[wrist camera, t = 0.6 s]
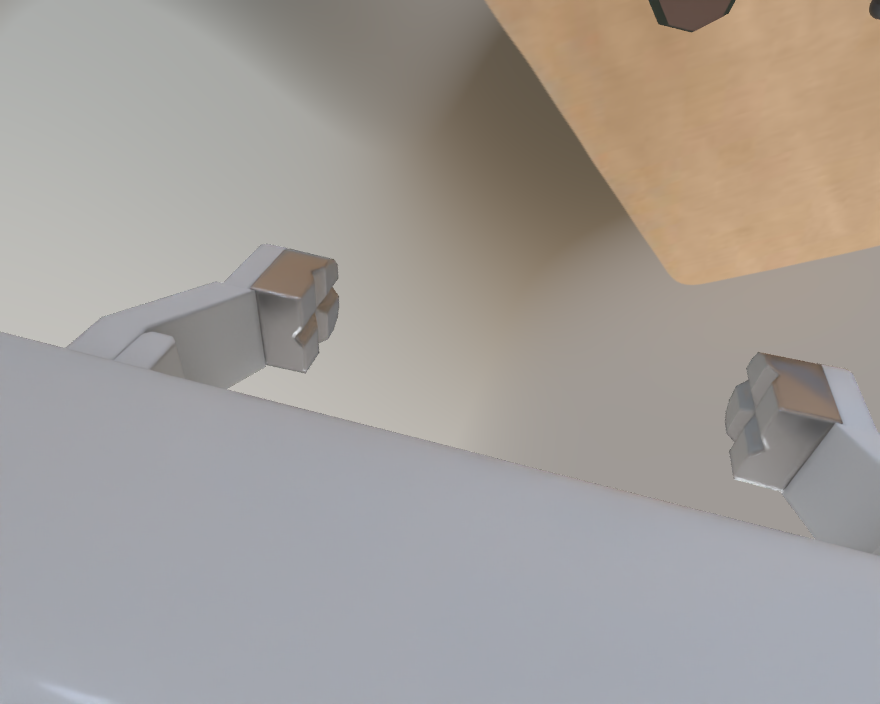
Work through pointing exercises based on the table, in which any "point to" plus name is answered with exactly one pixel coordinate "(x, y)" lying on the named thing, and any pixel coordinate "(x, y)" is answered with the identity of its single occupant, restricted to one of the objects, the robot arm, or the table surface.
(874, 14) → the pan handle
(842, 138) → the table surface
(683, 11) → the wine bottle
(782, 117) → the table surface
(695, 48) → the table surface
